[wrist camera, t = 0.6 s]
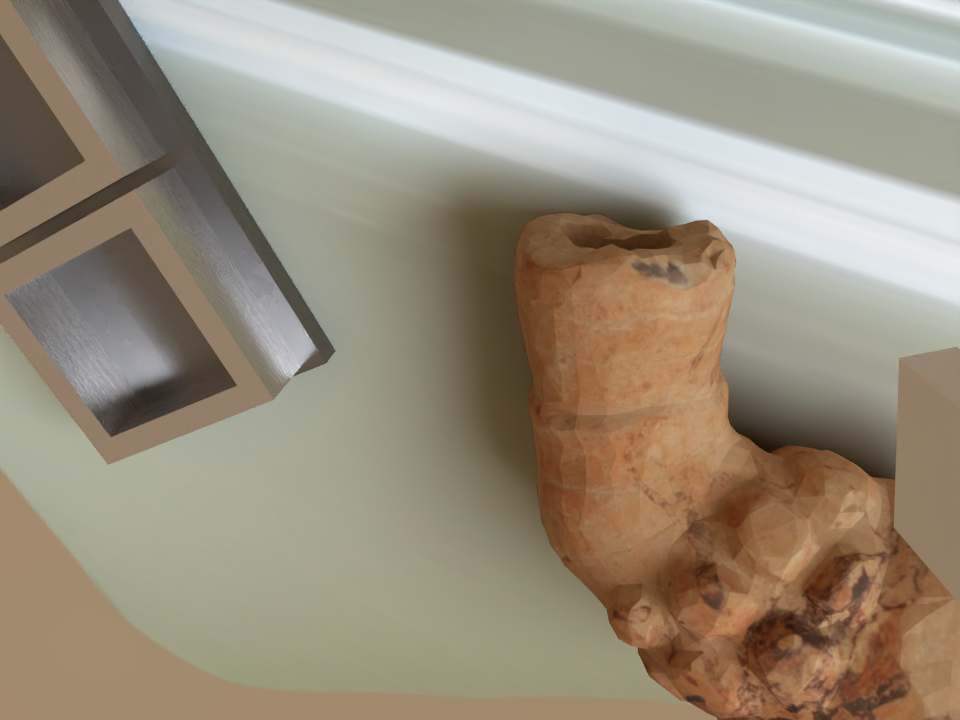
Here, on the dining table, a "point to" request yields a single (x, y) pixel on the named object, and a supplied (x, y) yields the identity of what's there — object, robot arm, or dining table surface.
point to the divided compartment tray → (130, 240)
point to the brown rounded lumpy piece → (712, 496)
